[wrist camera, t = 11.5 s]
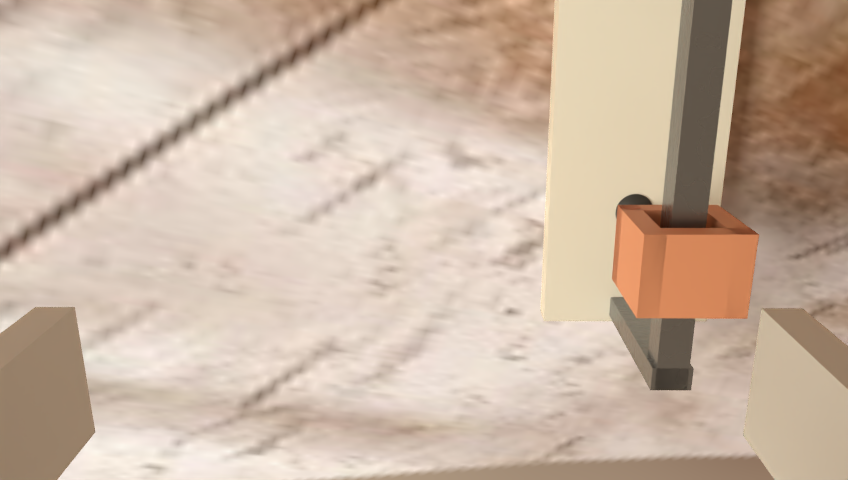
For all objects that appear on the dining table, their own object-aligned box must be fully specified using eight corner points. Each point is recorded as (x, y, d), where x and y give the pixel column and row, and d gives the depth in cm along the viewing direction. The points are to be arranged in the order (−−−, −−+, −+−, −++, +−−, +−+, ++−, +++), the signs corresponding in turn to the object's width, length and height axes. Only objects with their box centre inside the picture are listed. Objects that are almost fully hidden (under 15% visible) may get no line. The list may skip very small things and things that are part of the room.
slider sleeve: (596, 180, 42) (644, 234, 32) (683, 180, 42) (758, 234, 32) (591, 246, 43) (636, 318, 33) (677, 246, 43) (747, 318, 33)
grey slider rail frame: (641, -105, 38) (703, -137, 29) (680, -105, 38) (753, -137, 29) (609, 315, 45) (650, 389, 36) (641, 315, 45) (690, 390, 36)
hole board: (562, -162, 39) (567, -169, 37) (753, -164, 38) (767, -171, 37) (540, 310, 47) (544, 321, 45) (697, 310, 47) (707, 322, 45)
